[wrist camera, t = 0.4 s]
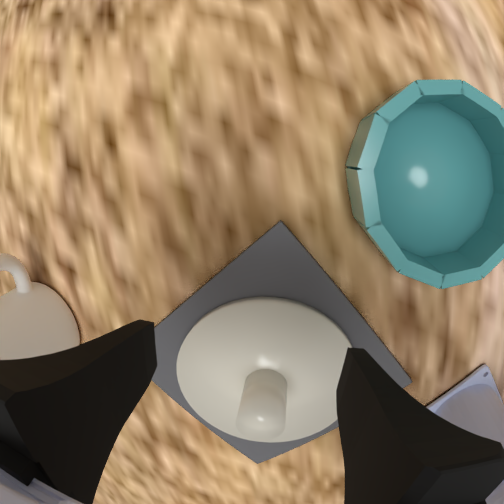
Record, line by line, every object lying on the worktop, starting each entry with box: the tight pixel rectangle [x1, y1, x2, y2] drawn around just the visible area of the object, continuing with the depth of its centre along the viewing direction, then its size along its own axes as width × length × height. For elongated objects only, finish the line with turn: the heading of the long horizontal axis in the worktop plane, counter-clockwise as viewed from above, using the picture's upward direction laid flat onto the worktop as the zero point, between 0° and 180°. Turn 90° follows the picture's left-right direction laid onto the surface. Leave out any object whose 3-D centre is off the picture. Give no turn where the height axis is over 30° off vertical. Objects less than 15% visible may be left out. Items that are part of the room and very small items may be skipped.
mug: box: [0, 253, 80, 360], centre depth 19 cm, size 12×8×10 cm
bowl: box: [345, 80, 504, 289], centre depth 15 cm, size 11×11×4 cm
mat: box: [151, 220, 412, 464], centre depth 22 cm, size 16×16×1 cm
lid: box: [176, 296, 353, 443], centre depth 20 cm, size 13×13×5 cm
